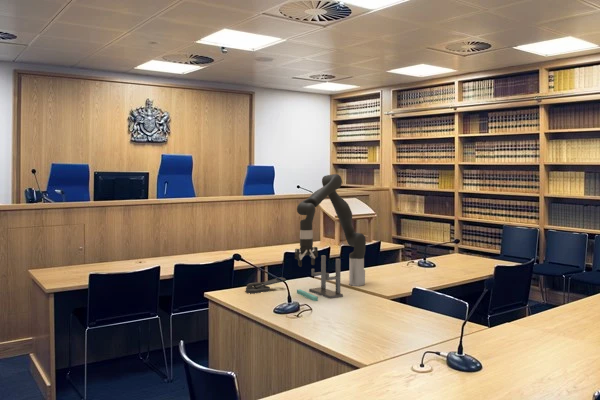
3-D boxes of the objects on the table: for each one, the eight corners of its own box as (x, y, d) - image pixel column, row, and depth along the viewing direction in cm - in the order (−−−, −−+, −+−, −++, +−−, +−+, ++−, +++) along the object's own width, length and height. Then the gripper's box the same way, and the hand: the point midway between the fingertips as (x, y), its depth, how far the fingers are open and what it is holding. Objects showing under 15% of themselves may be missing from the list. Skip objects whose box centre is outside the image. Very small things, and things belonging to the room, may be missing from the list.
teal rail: (300, 293, 317) (300, 289, 317) (317, 301, 297) (317, 297, 297) (296, 293, 316) (296, 289, 316) (313, 301, 296) (313, 297, 296)
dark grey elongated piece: (287, 279, 324) (249, 283, 313) (287, 290, 325) (249, 294, 313) (281, 276, 332) (243, 280, 321) (281, 287, 333) (243, 291, 321)
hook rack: (321, 289, 325) (321, 254, 324) (342, 296, 307) (343, 259, 306) (309, 291, 321) (309, 255, 320) (330, 298, 302) (330, 261, 301)
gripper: (313, 236, 312) (313, 263, 312) (292, 237, 304) (292, 266, 305) (320, 237, 305) (320, 265, 306) (299, 239, 298) (299, 268, 299)
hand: (306, 265), depth 306 cm, fingers open, 8 cm apart
